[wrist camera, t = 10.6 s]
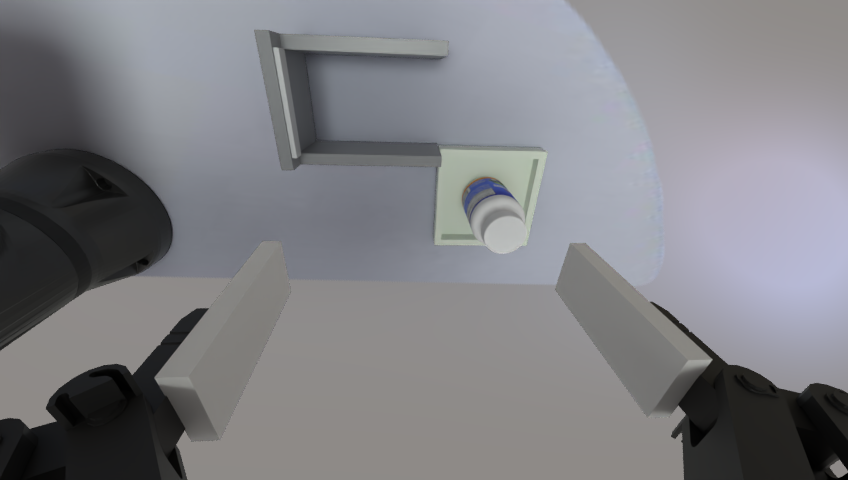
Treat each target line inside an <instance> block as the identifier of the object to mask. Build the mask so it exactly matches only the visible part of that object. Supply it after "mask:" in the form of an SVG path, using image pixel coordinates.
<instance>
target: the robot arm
mask: <svg viewBox="0 0 848 480" xmlns="http://www.w3.org/2000/svg"><path fill="white" fill-rule="evenodd" d="M171 238H172V230H171V224H170V221H169V218H168V215H167V213H166V211H165V209H164V207H163V205H162V204H161V202H160V201H159V199H158V198H157V197H156V196H155V194H154V193H153V192H152V191H151V190H150V189H149V188H148V187H147V186H146V185H145V184H144V183H143V182H142V181H141V180H140V179H139V178H137V177H136V176H135V175H133V174H132V173H131V172H129V171H128V170H126V169H125V168H123V167H121V166H120V165H118V164H116V163H114V162H112V161H110V160H108V159H106V158H103V157H101V156H98V155H95V154H92V153H88V152H84V151H79V150H72V149H55V150H49V151H45V152H40V153H35V154H31V155H27V156H24V157H22V158H19V159H17V160H15V161H13V162H11V163H10V164H8V165H7V166H5V167H4V168H2V169H1V170H0V350H2V349H3V348H4V347H6V346H8V345H9V344H10V343H12V342H13V341H14V340H16V339H17V338H19V337H21V336H22V335H23V334H25V333H26V332H28V331H29V330H31V329H32V328H33V327H35V326H36V325H38V324H39V323H41V322H42V321H43V320H45V319H46V318H48V317H49V316H51V315H52V314H53V313H55V312H56V311H58V310H59V309H61V308H62V307H64V306H65V305H66V304H68V303H69V302H70V301H72V300H73V299H75V298H76V297H78V296H79V295H81V294H82V293H84V292H85V291H88V290H91V289H94V288H97V287H100V286H103V285H106V284H109V283H112V282H115V281H118V280H121V279H124V278H127V277H130V276H133V275H136V274H139V273H141V272H143V271H144V270H146V269H148V268H149V267H150V266H152V265H153V264H155V263H156V262H157V261H159V260H160V259H161V258H162V257H163V256H164V255H165V254H166V252H167V251H168V249H169V247H170V244H171ZM555 290H556V292H557V293H558V295H559V296H560V297H561V299H562V300H563V301H564V303H565V304H566V306H567V307H568V308H569V310H570V311H571V313H572V314H573V315H574V317H575V318H576V319H577V321H578V322H579V324H580V325H581V326H582V328H583V329H584V330H585V332H586V333H587V335H588V336H589V337H590V339H591V340H592V342H593V343H594V344H595V346H596V347H597V349H598V350H599V351H600V353H601V354H602V355H603V357H604V358H605V360H606V361H607V362H608V364H609V365H610V366H611V368H612V369H613V371H614V372H615V373H616V375H617V376H618V378H619V379H620V380H621V382H622V383H623V385H624V386H625V387H626V389H627V390H628V391H629V393H630V394H631V396H632V397H633V398H634V400H635V401H636V402H637V404H638V405H639V407H640V408H641V409H642V411H643V412H644V414H645V415H646V416H647V418H660V417H670V416H671V414H672V413H673V411H674V410H675V409H676V408H677V406H678V405H679V406H680V408H681V409H682V410H683V411H684V412H685V413H686V416H685V417H684V418H683V419H682V421H681V422H680V423H679V424H678V426H677V427H676V428H675V430H674V431H673V432H672V435H671V437H673V438H676V437H677V436H678V434H680V433H682V437H683V440H682V441H681V442H682V443H683V461H684V462H683V463H684V480H848V473H847V474H845V475H844V476H842V477H840V478H837V477H836V475H834V473H833V472H832V471H831V469H830V466H831V465H832V464H834V463H835V462H836V461H838V460H839V459H840V460H841V462H842V463H843V465H844V466H845V467H846V469H847V470H848V393H846V392H845V391H843V390H840V389H837V388H834V387H831V386H829V385H825V384H819V383H814V384H810V385H809V386H808V387H807V388H806V389H805V390H804V391H803V392H802V393H797V392H792V391H788V390H784V389H779V388H777V387H776V386H775V385H774V384H773V383H772V382H771V381H769V380H768V379H766V378H765V377H763V376H762V375H760V374H758V373H756V372H754V371H752V370H750V369H747V368H744V367H741V366H738V365H728V364H727V363H726V362H725V361H723V360H722V359H721V358H720V357H719V356H718V355H716V354H715V353H714V352H713V351H712V350H711V349H710V348H709V347H708V346H706V345H705V344H704V343H703V342H702V341H701V340H700V339H699V338H697V337H696V336H695V335H694V334H693V333H692V332H689V330H688V329H687V328H686V327H685V326H684V325H683V324H681V323H679V321H678V320H677V319H676V318H675V317H674V316H673V315H672V314H670V313H669V312H668V311H667V310H665V309H664V308H662V307H660V306H658V305H657V304H655V303H653V302H649V301H648V300H647V299H646V298H645V297H644V296H643V295H642V294H640V293H639V292H638V291H637V290H636V289H635V288H634V287H633V286H632V285H631V284H630V283H628V282H627V281H626V280H625V279H624V278H623V277H622V276H621V275H620V274H619V273H618V272H616V271H615V270H614V269H613V268H612V267H611V266H610V265H609V264H608V263H607V262H605V261H604V260H603V259H602V258H601V257H600V256H599V255H598V254H597V253H596V252H595V251H593V250H592V249H591V248H590V247H589V246H588V245H587V244H586V243H570V245H569V248H568V251H567V254H566V257H565V260H564V263H563V266H562V269H561V273H560V276H559V279H558V282H557V285H556V288H555ZM290 293H291V289H290V284H289V279H288V274H287V269H286V264H285V259H284V254H283V249H282V244H281V241H262V242H261V243H260V245H259V246H258V247H257V248H256V250H255V251H254V252H253V254H252V255H251V256H250V257H249V259H248V260H247V261H246V262H245V264H244V265H243V266H242V267H241V269H240V270H239V271H238V272H237V274H236V275H235V276H234V278H233V279H232V280H231V281H230V283H229V284H228V285H227V286H226V288H225V289H224V290H223V291H222V293H221V294H220V295H219V297H218V298H217V299H216V300H215V302H214V303H213V304H212V306H211V307H210V308H207V309H205V308H203V309H202V308H200V309H196V310H194V311H192V312H191V313H190V314H188V315H187V316H185V317H184V318H182V319H181V320H180V321H179V322H178V323H177V325H176V326H175V327H174V328H173V329H172V331H170V334H169V335H167V336H166V337H165V339H163V341H162V342H161V345H159V346H157V348H156V349H155V350H154V351H153V352H152V353H151V355H150V356H149V357H148V358H147V359H146V360H145V362H143V364H142V365H141V366H140V367H139V368H138V369H137V371H136V372H135V373H134V374H133V375H131V373H130V372H129V370H128V369H127V368H126V366H123V365H119V364H112V365H104V366H101V367H97V368H94V369H91V370H88V371H87V372H84V373H82V374H80V375H78V376H77V377H75V378H73V379H72V380H70V381H69V382H67V383H66V384H64V385H63V386H62V387H60V388H59V389H58V390H57V391H56V393H55V394H54V395H53V396H52V397H51V398H50V399H49V402H48V404H47V406H46V410H48V412H49V413H50V414H51V415H52V416H53V417H54V418H55V419H56V420H57V422H53V423H49V424H46V425H42V426H39V427H35V428H32V429H29V428H28V427H27V426H26V425H25V424H24V423H23V422H22V421H21V420H20V419H13V418H8V419H3V420H0V480H187V477H186V473H185V470H184V466H183V462H182V459H181V455H180V451H179V449H178V448H177V446H176V444H177V442H178V440H179V439H180V437H181V435H182V434H183V432H184V430H185V431H186V433H187V435H188V436H189V438H190V440H191V441H192V442H194V441H213V440H220V439H221V437H222V435H223V433H224V431H225V429H226V427H227V425H228V423H229V420H230V418H231V416H232V414H233V412H234V410H235V408H236V406H237V404H238V402H239V400H240V397H241V396H242V393H243V391H244V389H245V387H246V385H247V383H248V381H249V379H250V377H251V375H252V372H253V370H254V368H255V366H256V364H257V362H258V360H259V357H260V356H261V354H262V352H263V349H264V347H265V345H266V343H267V341H268V339H269V337H270V335H271V333H272V331H273V329H274V326H275V324H276V322H277V320H278V318H279V316H280V314H281V312H282V310H283V308H284V306H285V304H286V302H287V299H288V297H289V295H290Z"/></svg>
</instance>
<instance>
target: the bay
mask: <svg viewBox="0 0 848 480" xmlns="http://www.w3.org/2000/svg"><path fill="white" fill-rule="evenodd" d="M254 32H255V37H256V42H257V47H258V52H259V57H260V63H261V68H262V73H263V78H264V83H265V88H266V93H267V98H268V103H269V108H270V113H271V118H272V124H273V129H274V134H275V139H276V144H277V149H278V154H279V159H280V164H281V169H282V170H295V169H296V168H297V167H298V166H299V165H301V164H308V165H359V166H409V167H441V162H442V156H441V153H440V151H439V148H438V146H437V143H401V142H360V141H318V140H316V133H315V126H314V118H313V111H312V103H311V96H310V88H309V81H308V73H307V66H306V58H305V54H330V55H355V56H380V57H405V58H430V59H442V58H444V57H446V56H448V45H449V41H438V40H415V39H392V38H369V37H346V36H322V35H299V34H279V33H276V32H272V31H269V30H254Z"/></svg>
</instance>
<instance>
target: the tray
mask: <svg viewBox="0 0 848 480" xmlns="http://www.w3.org/2000/svg"><path fill="white" fill-rule="evenodd" d="M438 148H439V151H440V153H441V156H442V162H441V167H437V177H436V196H435V214H434V233H433V239H434V245H485V244H483V243H481V242H480V241H479V240H478V239H477V238H476V237H475V236H474V234H473V232H472V230H471V227H470V224H469V221H468V219H467V216H466V214H465V211H464V209H463V206H462V194H463V191H464V189H465V188H466V186H467V185H468V184H469V183H470V182H471V181H473V180H475V179H477V178H480V177H493V178H496V179H498V180H499V181H500V182H501V183H502V184H503V185H504V186H505V187H506V188H507V189H508V191H509V192H510V193H511V194H512V195H513V197H514V198H515V199H516V200H517V201H518V203H519V204H520V205H521V207H522V208H523V211H524V214H525V225H526V229H527V235H526V238H525V241H524V242H523V244H522V245H521V246H527V241H528V237H529V233H530V228H531V224H532V219H533V215H534V211H535V206H536V202H537V197H538V193H539V188H540V184H541V180H542V175H543V171H544V166H545V162H546V157H547V153H548V152H547V151H546V150H544V149H542V148H532V147H490V146H448V145H438Z"/></svg>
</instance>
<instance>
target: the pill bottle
mask: <svg viewBox="0 0 848 480" xmlns="http://www.w3.org/2000/svg"><path fill="white" fill-rule="evenodd" d="M462 206H463V209H464V211H465V214H466V216H467V219H468V221H469V224H470V227H471V230H472V232H473V234H474V236H475V237H476V238H477V239H478V240H479V241H480V242H481V243H483V244H485V245H486V246H487V248H488V249H489V250H491V251H492V252H495V253H498V254H506V253H510V252H513V251H515V250H516V249H518V248H519V247H520V246H521V245H522V244H523V242H524V241H525V238H526V235H527V229H526V225H525V214H524V211H523V208H522V207H521V205H520V204H519V203H518V201H517V200H516V199H515V198H514V197H513V195H512V194H511V193H510V192H509V191H508V189H507V188H506V187H505V186H504V185H503V184H502V183H501V182H500V181H499V180H498V179H496V178H493V177H480V178H477V179H475V180H473V181H471V182H470V183H469V184H468V185H467V186H466V188H465V189H464V191H463V194H462Z"/></svg>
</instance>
